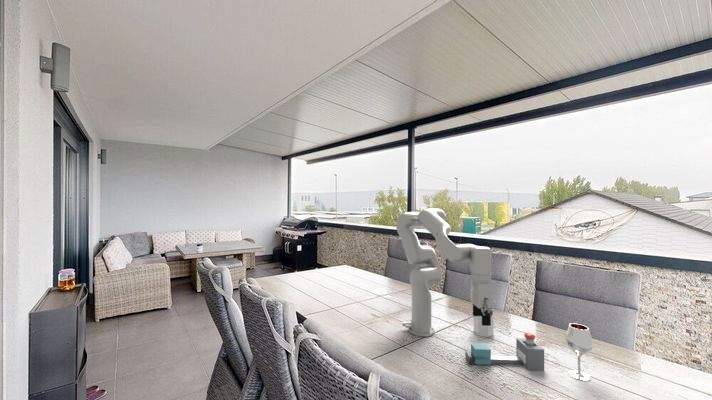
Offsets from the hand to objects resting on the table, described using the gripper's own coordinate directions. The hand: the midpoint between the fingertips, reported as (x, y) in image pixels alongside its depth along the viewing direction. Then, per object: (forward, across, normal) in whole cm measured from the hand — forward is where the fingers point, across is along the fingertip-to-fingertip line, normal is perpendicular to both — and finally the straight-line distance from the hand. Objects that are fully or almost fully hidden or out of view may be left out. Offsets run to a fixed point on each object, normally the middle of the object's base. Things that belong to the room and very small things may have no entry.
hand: (481, 320), depth 117 cm
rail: (+17, 0, +6) cm, 17 cm away
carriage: (+16, 0, 0) cm, 17 cm away
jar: (+17, -27, +11) cm, 33 cm away
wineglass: (+17, +8, +32) cm, 37 cm away
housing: (+17, 0, +18) cm, 25 cm away
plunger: (+10, 0, +19) cm, 21 cm away
